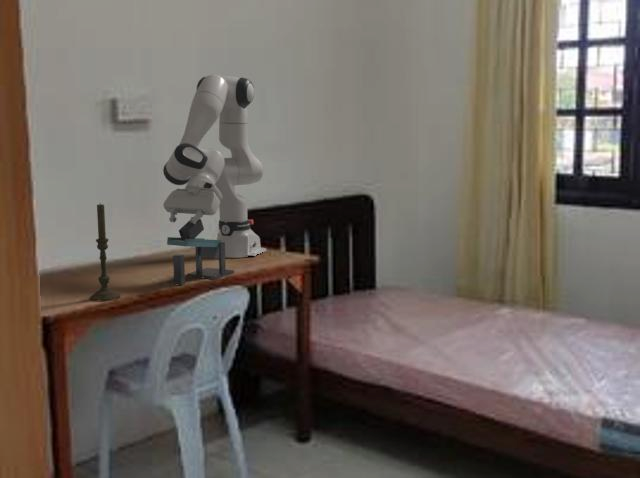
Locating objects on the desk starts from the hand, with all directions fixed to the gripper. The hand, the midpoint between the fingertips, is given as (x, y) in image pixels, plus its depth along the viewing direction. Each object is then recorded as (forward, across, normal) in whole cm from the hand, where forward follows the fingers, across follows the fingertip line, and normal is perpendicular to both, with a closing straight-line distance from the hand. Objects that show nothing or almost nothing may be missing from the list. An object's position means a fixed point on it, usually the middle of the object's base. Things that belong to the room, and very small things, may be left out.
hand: (181, 222), depth 271 cm
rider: (+2, 0, +4) cm, 5 cm away
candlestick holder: (+35, -9, -5) cm, 37 cm away
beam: (+4, 0, +15) cm, 15 cm away
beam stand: (+8, 0, +21) cm, 23 cm away
